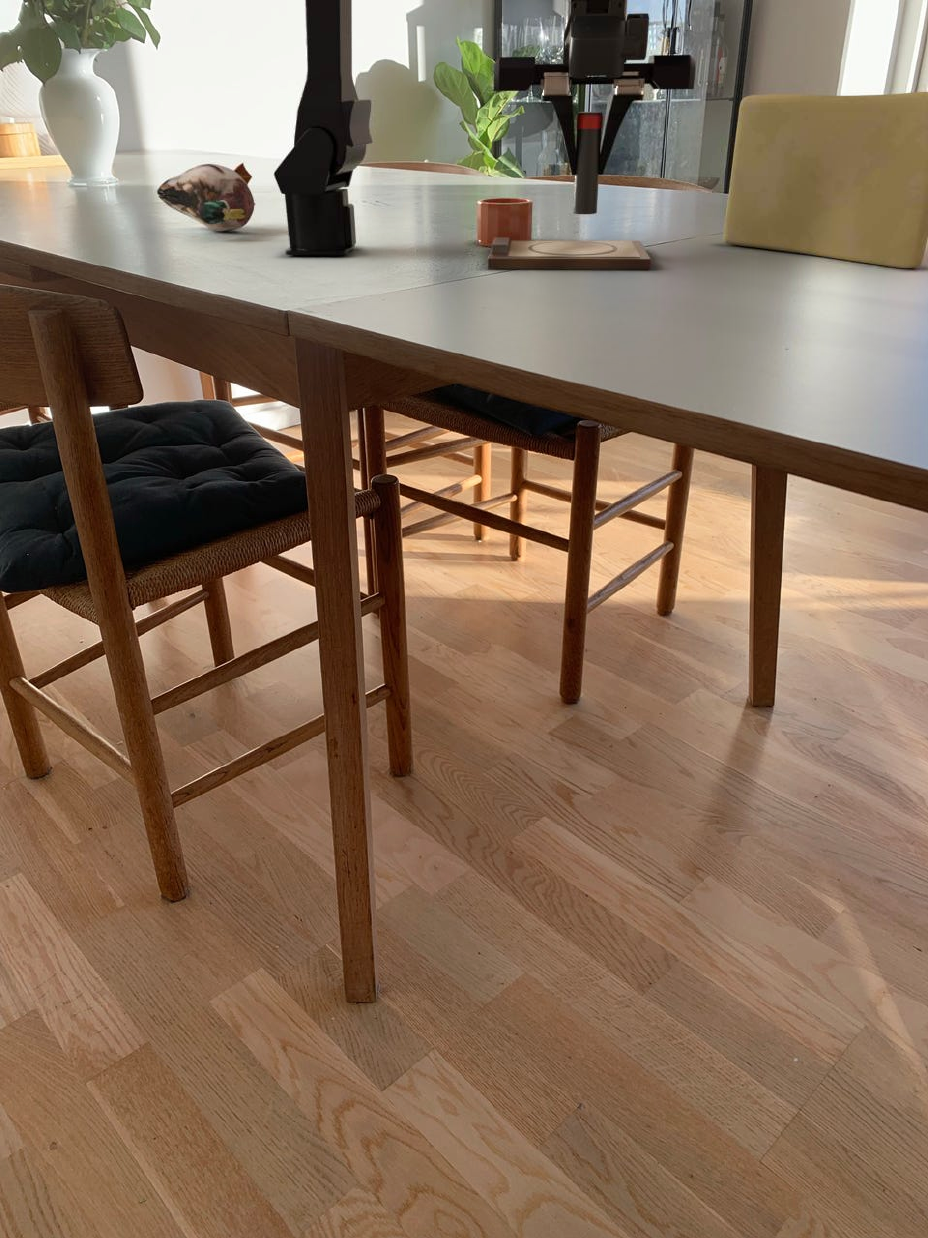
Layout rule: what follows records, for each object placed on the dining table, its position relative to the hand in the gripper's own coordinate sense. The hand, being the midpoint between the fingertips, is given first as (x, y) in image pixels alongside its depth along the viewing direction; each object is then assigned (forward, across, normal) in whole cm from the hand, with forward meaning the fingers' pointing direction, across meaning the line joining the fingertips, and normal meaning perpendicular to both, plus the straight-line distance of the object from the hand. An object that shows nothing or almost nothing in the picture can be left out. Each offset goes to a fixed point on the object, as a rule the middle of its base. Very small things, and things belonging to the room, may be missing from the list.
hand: (586, 174), depth 91 cm
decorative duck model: (+8, -46, +20) cm, 51 cm away
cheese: (+8, +26, +4) cm, 28 cm away
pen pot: (+8, -8, +11) cm, 16 cm away
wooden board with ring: (+8, -2, 0) cm, 8 cm away
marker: (+4, 0, 0) cm, 4 cm away
